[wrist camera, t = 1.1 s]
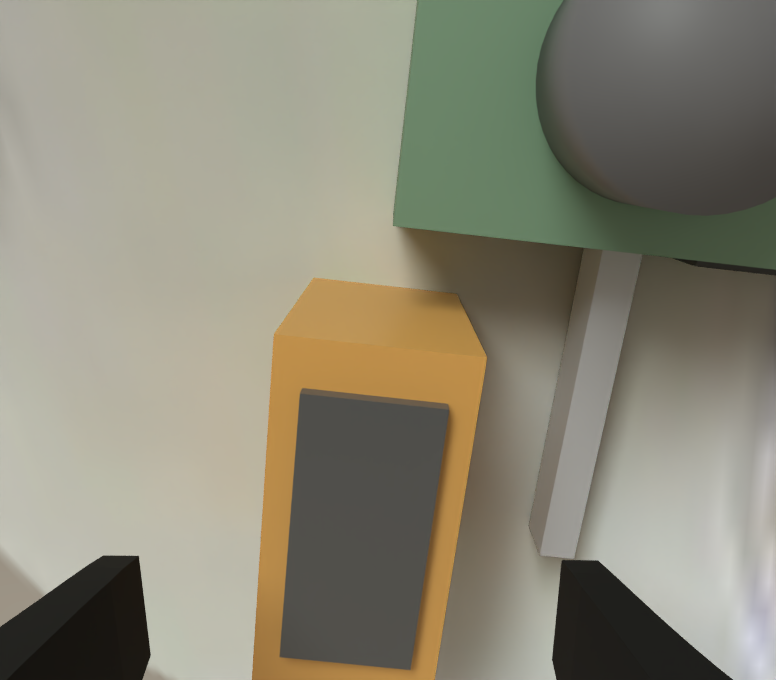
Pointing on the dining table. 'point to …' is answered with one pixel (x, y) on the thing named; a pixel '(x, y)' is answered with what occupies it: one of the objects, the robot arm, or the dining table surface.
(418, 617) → the orange box with panel
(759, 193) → the green block with prongs
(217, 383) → the dining table surface
